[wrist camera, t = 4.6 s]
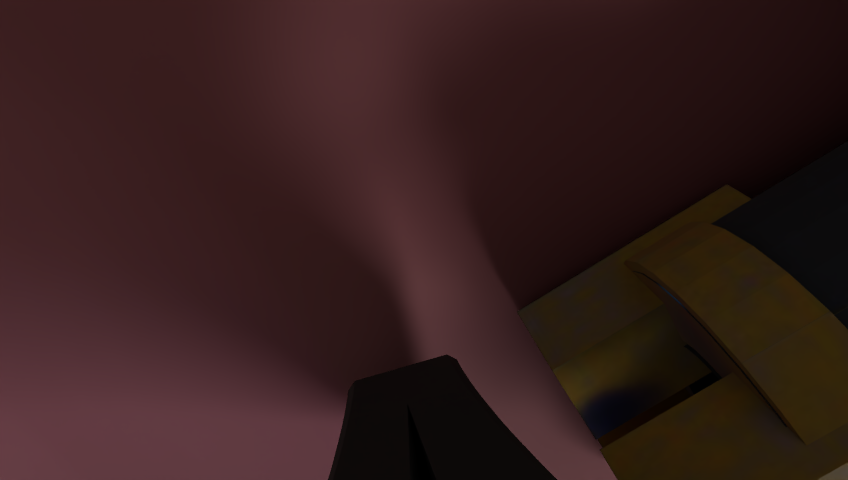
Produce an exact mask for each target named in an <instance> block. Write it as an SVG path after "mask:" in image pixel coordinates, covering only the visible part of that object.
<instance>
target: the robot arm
mask: <svg viewBox="0 0 848 480" xmlns="http://www.w3.org/2000/svg"><path fill="white" fill-rule="evenodd" d="M328 480H557V479H556V478H555V477H554V476H553V475H552V474H551V473H550V472H549V471H548V470H547V469H546V468H545V467H544V466H543V465H542V464H541V463H540V462H539V461H538V460H537V459H536V458H535V457H534V456H533V455H532V453H531V452H530V451H529V450H528V449H527V448H526V447H525V446H524V445H523V444H522V443H521V442H520V441H519V440H518V439H517V438H516V437H515V436H514V434H513V433H512V432H511V431H510V430H509V429H508V428H507V427H506V426H505V424H504V423H503V422H502V421H501V420H500V419H499V418H498V416H497V415H496V414H495V413H494V411H493V410H492V409H491V408H490V407H489V405H488V404H487V403H486V402H485V401H484V399H483V398H482V397H481V395H480V394H479V393H478V391H477V390H476V389H475V388H474V386H473V385H472V383H471V382H470V381H469V379H468V378H467V376H466V374H465V373H464V371H463V370H462V368H461V367H460V365H459V363H458V361H457V359H455V358H453V357H451V356H449V355H444V356H440V357H437V358H433V359H430V360H426V361H423V362H419V363H416V364H412V365H409V366H405V367H402V368H398V369H395V370H392V371H388V372H385V373H381V374H378V375H374V376H371V377H367V378H364V379H360V380H357V381H355V382H354V383H353V385H352V386H351V388H350V389H349V391H348V398H347V404H346V410H345V415H344V420H343V425H342V429H341V433H340V437H339V442H338V445H337V449H336V453H335V457H334V461H333V464H332V468H331V471H330V475H329V478H328Z"/></svg>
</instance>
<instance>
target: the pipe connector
mask: <svg viewBox="0 0 848 480" xmlns="http://www.w3.org/2000/svg"><path fill="white" fill-rule="evenodd" d="M517 313H518V314H519V316H520V318H521V319H522V321H523V323H524V324H525V326H526V328H527V329H528V331H529V333H530V334H531V336H532V338H533V339H534V341H535V343H536V344H537V346H538V348H539V349H540V351H541V353H542V354H543V356H544V358H545V359H546V361H547V363H548V364H549V366H550V368H551V369H552V371H553V373H554V374H555V376H556V377H557V379H558V380H559V382H560V384H561V385H562V387H563V388H564V390H565V392H566V393H567V395H568V396H569V398H570V399H571V401H572V403H573V404H574V406H575V407H576V409H577V410H578V412H579V414H580V415H581V417H582V418H583V420H584V421H585V423H586V425H587V426H588V428H589V429H590V431H591V432H592V434H593V436H594V437H595V439H598V441H599V443H600V444H601V446H602V447H603V448H602V449H600V451H601V453H602V454H603V456H604V458H605V460H606V461H607V463H608V465H609V466H610V468H611V470H612V471H613V473H614V475H615V476H616V478H617V480H848V141H847V142H845V143H844V144H842V145H841V146H839V147H837V148H836V149H834V150H832V151H831V152H829V153H827V154H826V155H824V156H822V157H821V158H819V159H817V160H816V161H814V162H812V163H811V164H809V165H807V166H806V167H804V168H802V169H801V170H799V171H797V172H796V173H794V174H793V175H791V176H789V177H788V178H786V179H784V180H783V181H781V182H779V183H778V184H776V185H774V186H773V187H771V188H769V189H768V190H766V191H764V192H763V193H761V194H759V195H758V196H756V197H754V198H753V199H751V198H749V197H748V196H746V195H744V194H742V193H741V192H739V191H737V190H736V189H734V188H732V187H730V186H729V185H727V184H726V185H725V186H723V187H721V188H720V189H718V190H716V191H715V192H713V193H712V194H710V195H708V196H707V197H705V198H703V199H702V200H700V201H698V202H697V203H695V204H693V205H692V206H690V207H688V208H687V209H685V210H684V211H682V212H680V213H679V214H677V215H675V216H674V217H672V218H670V219H669V220H667V221H665V222H664V223H662V224H660V225H659V226H657V227H656V228H654V229H652V230H651V231H649V232H647V233H646V234H644V235H642V236H641V237H639V238H637V239H636V240H634V241H633V242H631V243H629V244H628V245H626V246H624V247H623V248H621V249H619V250H618V251H616V252H614V253H613V254H611V255H609V256H608V257H606V258H605V259H603V260H601V261H600V262H598V263H596V264H595V265H593V266H591V267H590V268H588V269H586V270H585V271H583V272H582V273H580V274H578V275H577V276H575V277H573V278H572V279H570V280H568V281H567V282H565V283H563V284H562V285H560V286H558V287H557V288H555V289H554V290H552V291H550V292H549V293H547V294H545V295H544V296H542V297H540V298H539V299H537V300H535V301H534V302H532V303H531V304H529V305H527V306H526V307H524V308H522V309H521V310H519V311H517Z"/></svg>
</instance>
